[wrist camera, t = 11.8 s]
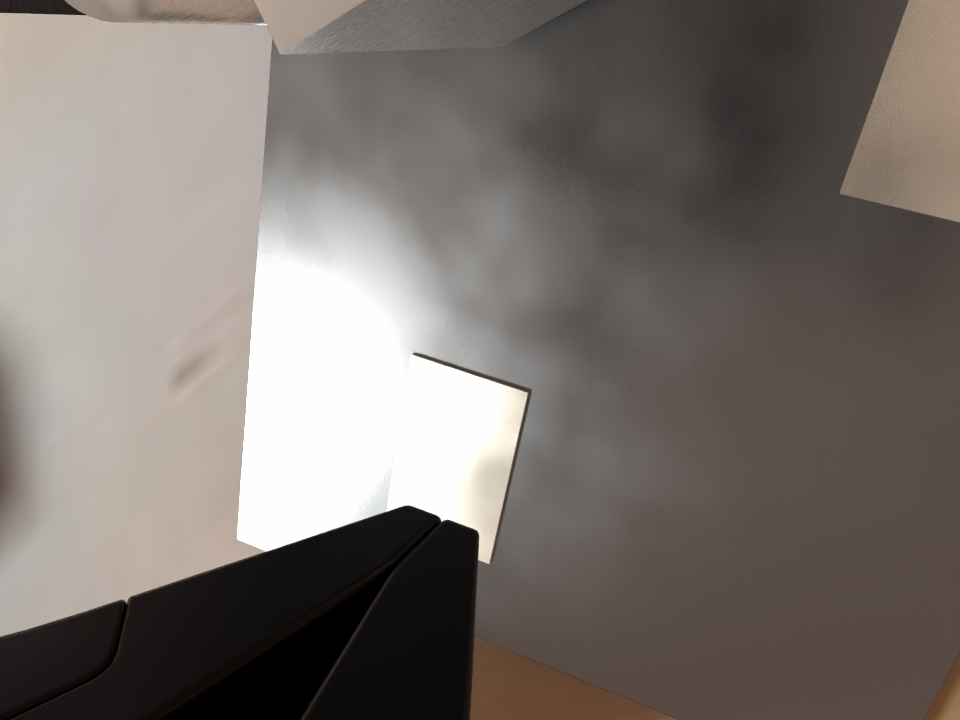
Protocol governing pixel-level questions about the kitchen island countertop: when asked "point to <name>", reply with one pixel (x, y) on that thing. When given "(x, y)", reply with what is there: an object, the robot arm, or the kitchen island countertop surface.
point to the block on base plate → (636, 338)
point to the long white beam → (350, 20)
